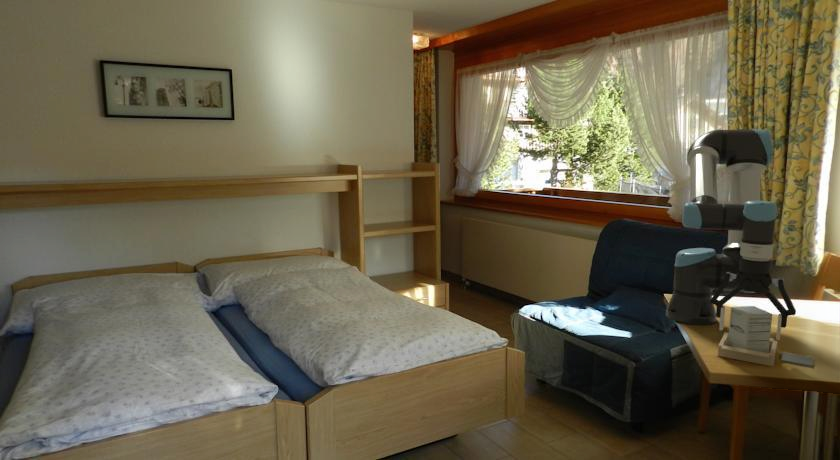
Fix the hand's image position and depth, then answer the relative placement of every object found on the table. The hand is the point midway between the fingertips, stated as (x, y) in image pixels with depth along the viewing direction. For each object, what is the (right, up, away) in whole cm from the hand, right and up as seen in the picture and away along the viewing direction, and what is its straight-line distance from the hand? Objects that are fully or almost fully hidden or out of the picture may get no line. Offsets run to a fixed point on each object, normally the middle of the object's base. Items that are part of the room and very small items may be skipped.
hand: (749, 333), depth 156 cm
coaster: (+11, -6, -4) cm, 13 cm away
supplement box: (0, -6, +1) cm, 6 cm away
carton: (0, -6, +1) cm, 6 cm away
